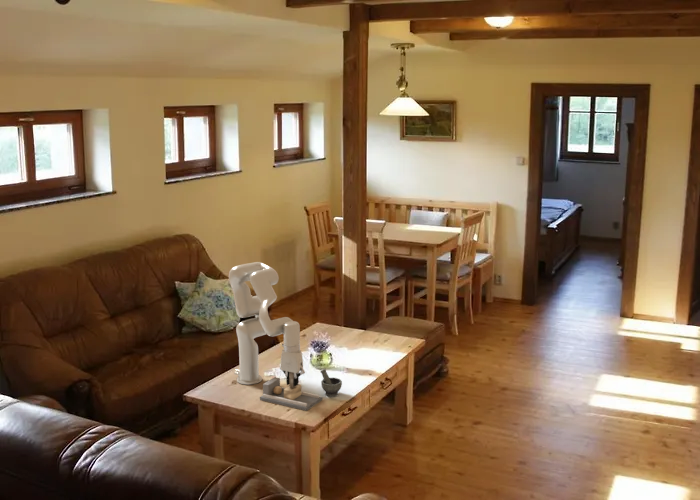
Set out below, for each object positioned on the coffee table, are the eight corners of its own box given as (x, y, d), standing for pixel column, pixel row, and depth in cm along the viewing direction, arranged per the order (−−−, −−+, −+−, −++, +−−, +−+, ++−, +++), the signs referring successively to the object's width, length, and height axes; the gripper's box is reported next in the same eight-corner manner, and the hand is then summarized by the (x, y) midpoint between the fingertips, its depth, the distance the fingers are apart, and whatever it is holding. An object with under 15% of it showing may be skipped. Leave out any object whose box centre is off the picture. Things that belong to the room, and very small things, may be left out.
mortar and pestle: (345, 393, 382) (345, 370, 379) (333, 400, 374) (333, 376, 372) (327, 388, 388) (326, 365, 386) (315, 394, 381) (315, 371, 378)
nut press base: (260, 400, 375) (259, 385, 373) (276, 389, 387) (276, 375, 385) (306, 410, 362) (306, 395, 361) (322, 400, 374) (321, 385, 373)
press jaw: (284, 399, 371) (283, 367, 367) (294, 393, 378) (293, 361, 375) (291, 401, 369) (290, 369, 365) (301, 394, 377) (300, 363, 373)
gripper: (272, 347, 369) (273, 384, 373) (302, 353, 361) (303, 390, 365) (281, 342, 375) (282, 378, 379) (311, 348, 368) (311, 385, 372)
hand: (292, 384), depth 372 cm, fingers closed on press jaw, 3 cm apart
